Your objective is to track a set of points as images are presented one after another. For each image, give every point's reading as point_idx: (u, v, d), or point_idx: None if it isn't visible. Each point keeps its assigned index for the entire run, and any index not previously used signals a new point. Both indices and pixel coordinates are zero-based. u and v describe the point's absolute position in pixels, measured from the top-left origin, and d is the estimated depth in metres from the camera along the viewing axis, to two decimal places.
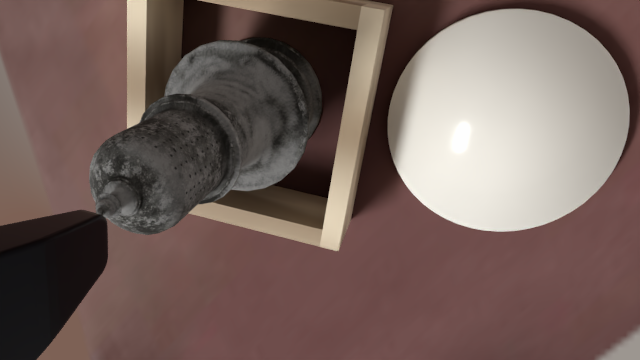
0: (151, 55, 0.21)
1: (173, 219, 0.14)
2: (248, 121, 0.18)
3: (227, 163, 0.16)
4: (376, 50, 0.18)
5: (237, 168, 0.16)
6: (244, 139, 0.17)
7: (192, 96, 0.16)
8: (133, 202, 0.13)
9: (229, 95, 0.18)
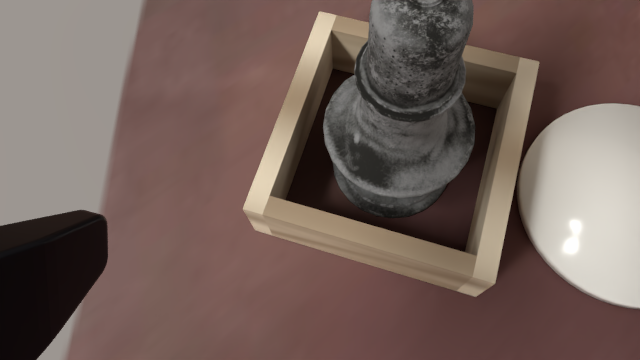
0: (314, 81, 0.22)
1: (461, 33, 0.13)
2: None
3: (454, 76, 0.16)
4: (532, 90, 0.21)
5: (461, 86, 0.16)
6: None
7: None
8: None
9: None
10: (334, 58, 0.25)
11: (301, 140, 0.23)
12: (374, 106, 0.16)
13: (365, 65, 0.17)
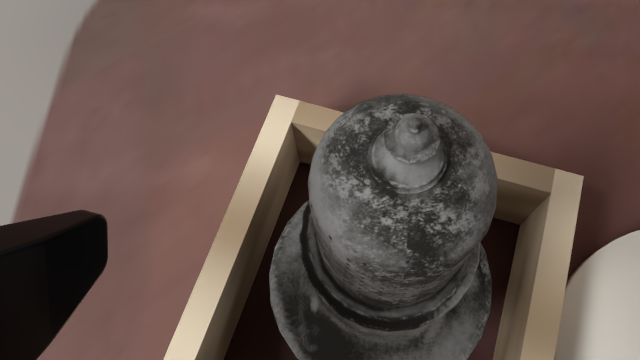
0: (265, 196, 0.16)
1: (474, 236, 0.07)
2: None
3: None
4: (574, 219, 0.15)
5: (472, 269, 0.10)
6: None
7: None
8: (439, 160, 0.07)
9: None
10: (300, 151, 0.18)
11: (248, 272, 0.17)
12: (328, 302, 0.10)
13: None
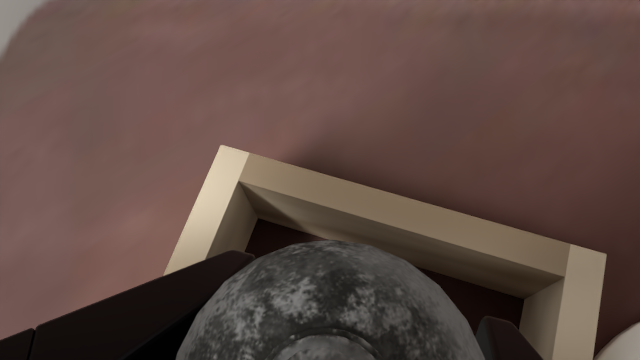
0: None
1: None
2: None
3: None
4: (596, 312, 0.11)
5: None
6: None
7: None
8: None
9: None
10: (255, 208, 0.15)
11: None
12: None
13: None
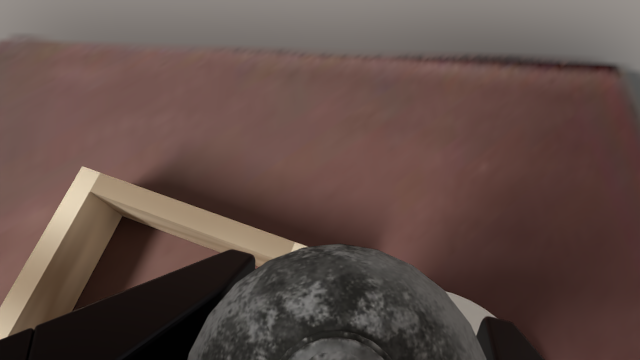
0: (62, 254, 0.19)
1: None
2: None
3: None
4: None
5: None
6: None
7: None
8: None
9: None
10: (115, 209, 0.21)
11: (53, 315, 0.20)
12: None
13: None
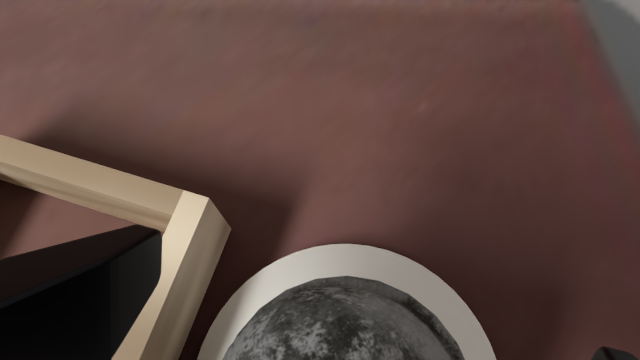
0: None
1: None
2: None
3: None
4: (190, 243, 0.14)
5: None
6: None
7: None
8: None
9: None
10: None
11: None
12: None
13: None
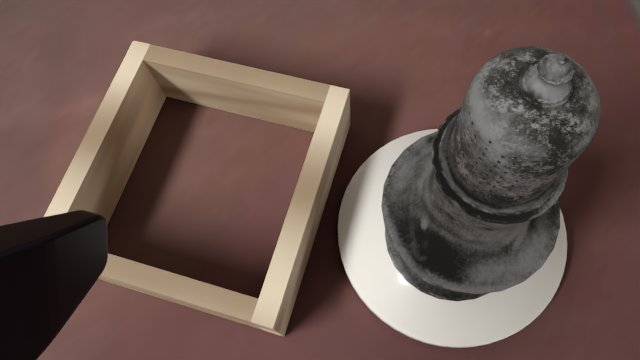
0: (122, 114, 0.21)
1: (589, 136, 0.11)
2: None
3: None
4: (339, 119, 0.20)
5: (564, 178, 0.14)
6: None
7: None
8: (568, 85, 0.10)
9: None
10: (161, 86, 0.24)
11: (116, 174, 0.22)
12: (460, 205, 0.13)
13: (446, 153, 0.14)
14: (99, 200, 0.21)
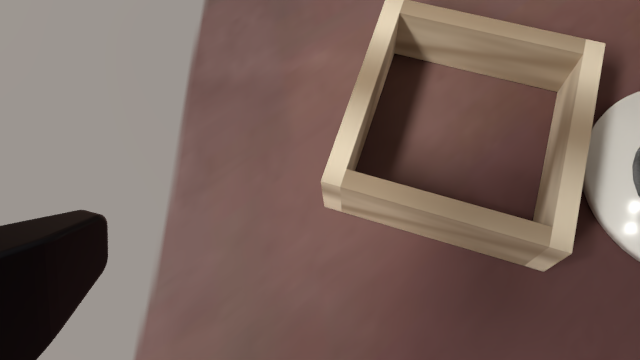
0: (384, 62, 0.23)
1: None
2: None
3: None
4: (599, 70, 0.22)
5: None
6: None
7: None
8: None
9: None
10: (397, 42, 0.25)
11: (369, 120, 0.24)
12: None
13: None
14: (360, 142, 0.23)
